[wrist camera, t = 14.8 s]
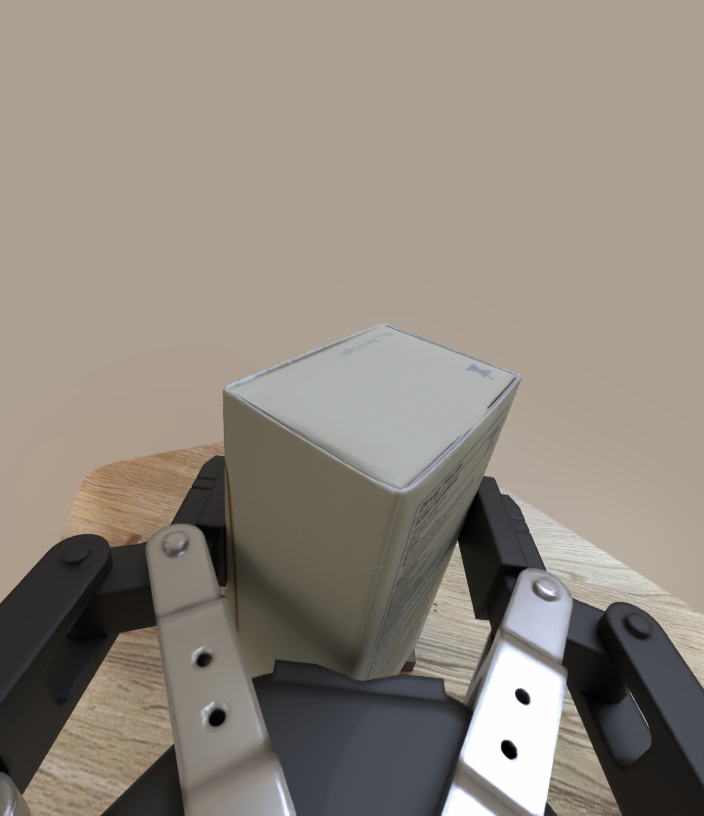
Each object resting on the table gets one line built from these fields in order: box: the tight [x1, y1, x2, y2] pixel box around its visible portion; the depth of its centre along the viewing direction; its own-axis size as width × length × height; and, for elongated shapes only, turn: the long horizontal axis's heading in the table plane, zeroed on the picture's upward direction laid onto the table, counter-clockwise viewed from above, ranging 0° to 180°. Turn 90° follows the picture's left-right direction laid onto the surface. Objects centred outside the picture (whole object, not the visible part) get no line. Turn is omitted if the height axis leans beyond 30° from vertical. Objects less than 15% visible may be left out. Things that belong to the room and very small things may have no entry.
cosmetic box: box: [223, 324, 522, 681], centre depth 12 cm, size 6×4×12 cm
